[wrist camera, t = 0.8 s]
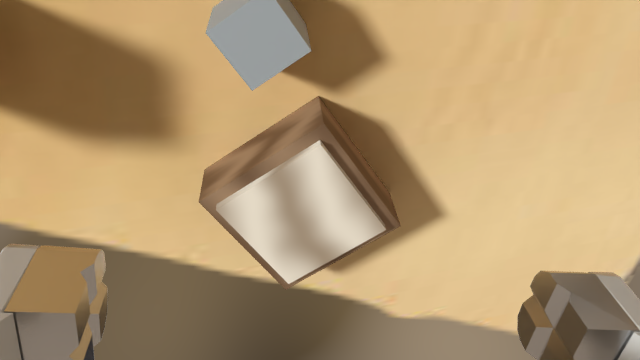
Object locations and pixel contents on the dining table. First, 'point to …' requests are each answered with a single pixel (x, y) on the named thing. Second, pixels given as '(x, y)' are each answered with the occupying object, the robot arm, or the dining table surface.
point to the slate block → (258, 37)
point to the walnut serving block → (299, 195)
